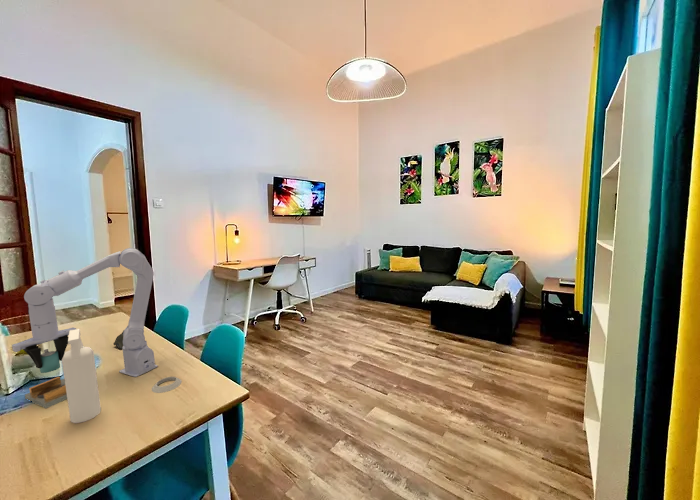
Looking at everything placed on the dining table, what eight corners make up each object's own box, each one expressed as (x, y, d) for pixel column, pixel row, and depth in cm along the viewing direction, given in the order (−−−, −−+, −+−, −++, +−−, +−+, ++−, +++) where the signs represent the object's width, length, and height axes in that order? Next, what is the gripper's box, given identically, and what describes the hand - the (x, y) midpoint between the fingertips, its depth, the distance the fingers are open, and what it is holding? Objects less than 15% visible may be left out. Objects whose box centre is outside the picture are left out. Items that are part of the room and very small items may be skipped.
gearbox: (90, 388, 97) (89, 378, 97) (45, 408, 87) (44, 397, 87) (70, 380, 102) (68, 371, 102) (25, 399, 92) (23, 388, 92)
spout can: (62, 367, 96) (59, 348, 95) (43, 374, 92) (40, 354, 91) (57, 364, 98) (54, 346, 98) (38, 370, 94) (35, 351, 94)
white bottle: (103, 397, 92) (90, 320, 88) (102, 419, 82) (87, 334, 78) (73, 407, 88) (58, 326, 84) (69, 431, 78) (51, 342, 74)
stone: (110, 352, 124) (109, 340, 123) (118, 340, 135) (116, 329, 135) (131, 348, 127) (129, 336, 126) (136, 337, 138) (135, 326, 138)
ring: (155, 382, 101) (155, 377, 101) (183, 377, 104) (183, 372, 104) (148, 396, 93) (147, 391, 93) (179, 390, 96) (178, 385, 96)
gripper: (66, 313, 101) (71, 351, 103) (4, 328, 88) (11, 372, 90) (78, 316, 99) (83, 355, 100) (15, 332, 85) (22, 377, 87)
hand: (50, 363), depth 95 cm, fingers closed on spout can, 4 cm apart
